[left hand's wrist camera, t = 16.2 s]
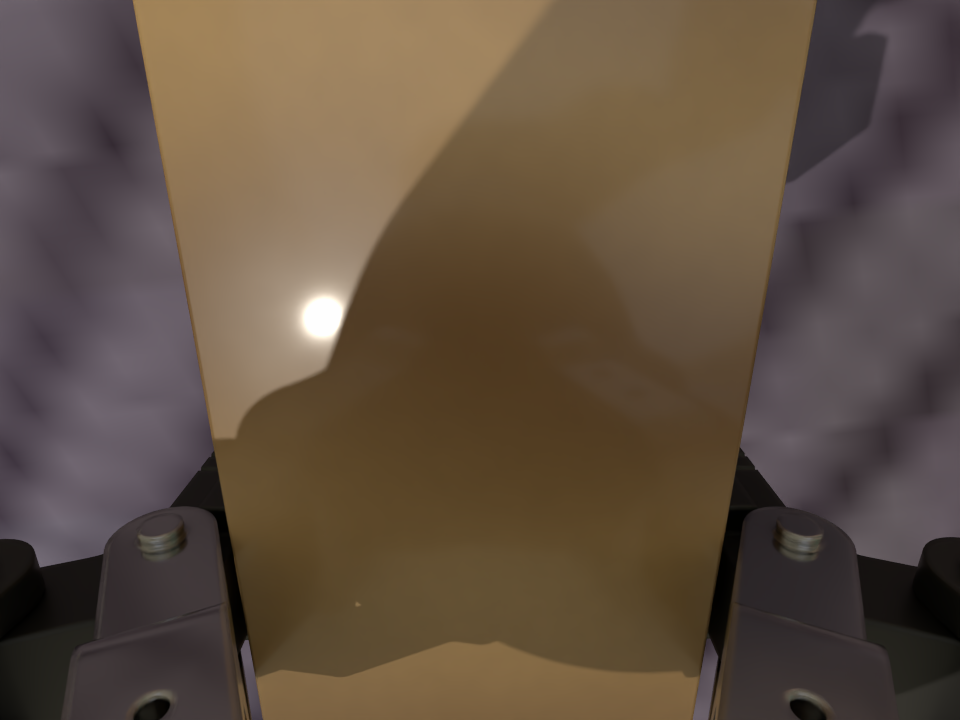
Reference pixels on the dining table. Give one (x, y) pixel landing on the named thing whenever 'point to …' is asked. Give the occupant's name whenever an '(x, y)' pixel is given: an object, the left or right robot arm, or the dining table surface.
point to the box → (476, 332)
